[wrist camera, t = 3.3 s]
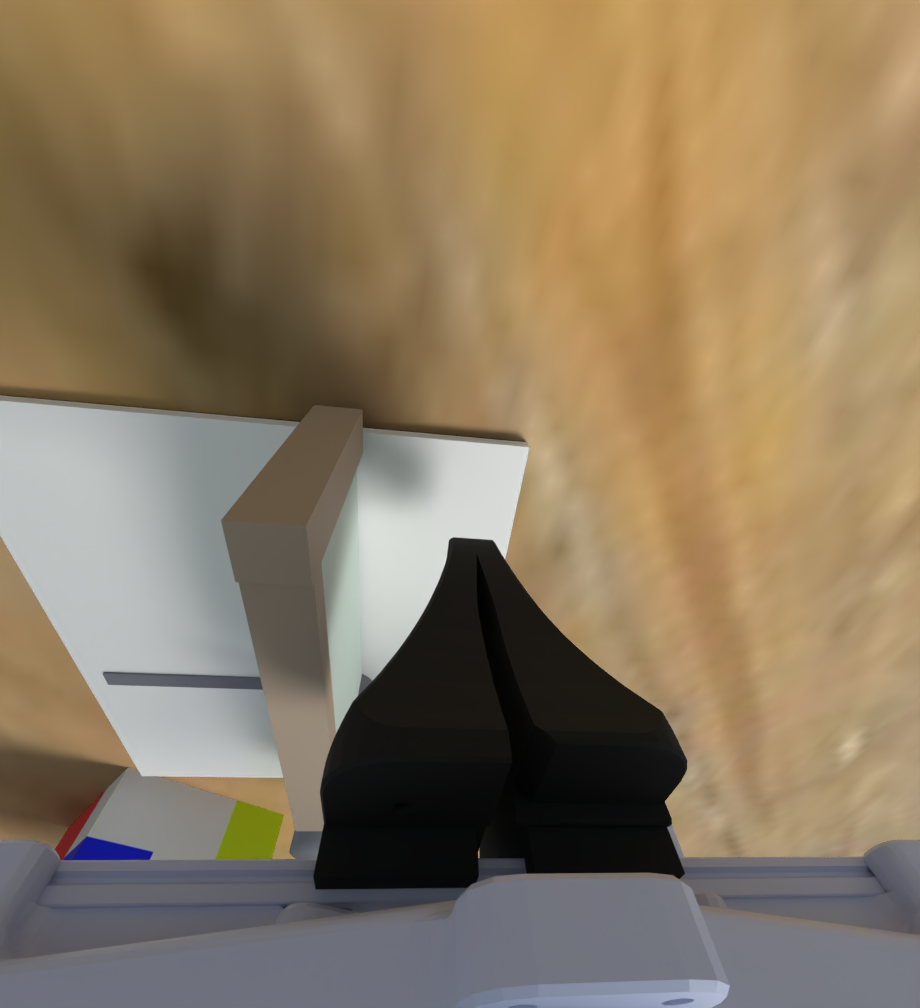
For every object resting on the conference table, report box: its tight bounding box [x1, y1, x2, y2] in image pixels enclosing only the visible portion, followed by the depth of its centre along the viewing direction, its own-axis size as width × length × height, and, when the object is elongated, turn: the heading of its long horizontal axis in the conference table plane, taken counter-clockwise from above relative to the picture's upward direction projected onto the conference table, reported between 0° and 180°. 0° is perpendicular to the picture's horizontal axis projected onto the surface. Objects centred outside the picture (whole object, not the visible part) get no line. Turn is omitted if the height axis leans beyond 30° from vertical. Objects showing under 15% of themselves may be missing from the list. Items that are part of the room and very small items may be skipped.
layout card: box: [0, 395, 529, 778], centre depth 18 cm, size 18×22×1 cm
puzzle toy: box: [55, 767, 284, 860], centre depth 23 cm, size 10×10×10 cm
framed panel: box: [221, 405, 363, 831], centre depth 13 cm, size 12×1×6 cm, turn 174°
